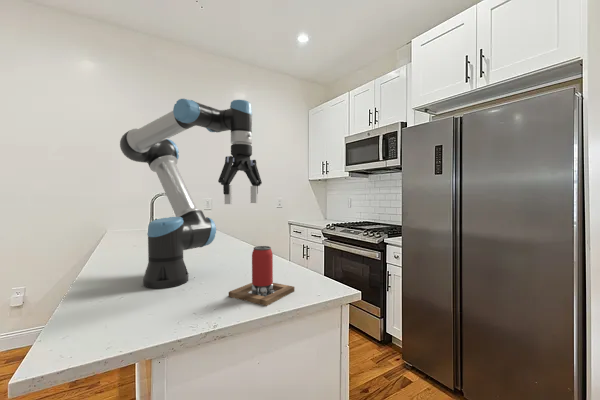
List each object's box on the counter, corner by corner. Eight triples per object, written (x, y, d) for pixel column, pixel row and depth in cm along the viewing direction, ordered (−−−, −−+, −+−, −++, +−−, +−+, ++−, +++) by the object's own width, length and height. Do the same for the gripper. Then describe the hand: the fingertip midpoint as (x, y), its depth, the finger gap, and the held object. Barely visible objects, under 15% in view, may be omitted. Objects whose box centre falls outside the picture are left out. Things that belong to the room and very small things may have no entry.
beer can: (275, 282, 98) (275, 246, 98) (269, 288, 91) (269, 249, 91) (256, 281, 99) (256, 245, 99) (249, 287, 93) (248, 249, 92)
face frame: (228, 296, 93) (228, 291, 93) (258, 284, 106) (258, 279, 106) (266, 305, 85) (266, 300, 85) (294, 291, 98) (294, 286, 98)
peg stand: (250, 294, 94) (250, 285, 94) (261, 290, 99) (261, 281, 99) (263, 297, 92) (263, 288, 92) (274, 292, 96) (274, 283, 96)
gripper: (223, 138, 94) (223, 204, 94) (270, 148, 115) (270, 202, 116) (207, 140, 98) (207, 204, 98) (255, 149, 119) (255, 202, 120)
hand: (241, 203), depth 107 cm, fingers open, 13 cm apart
